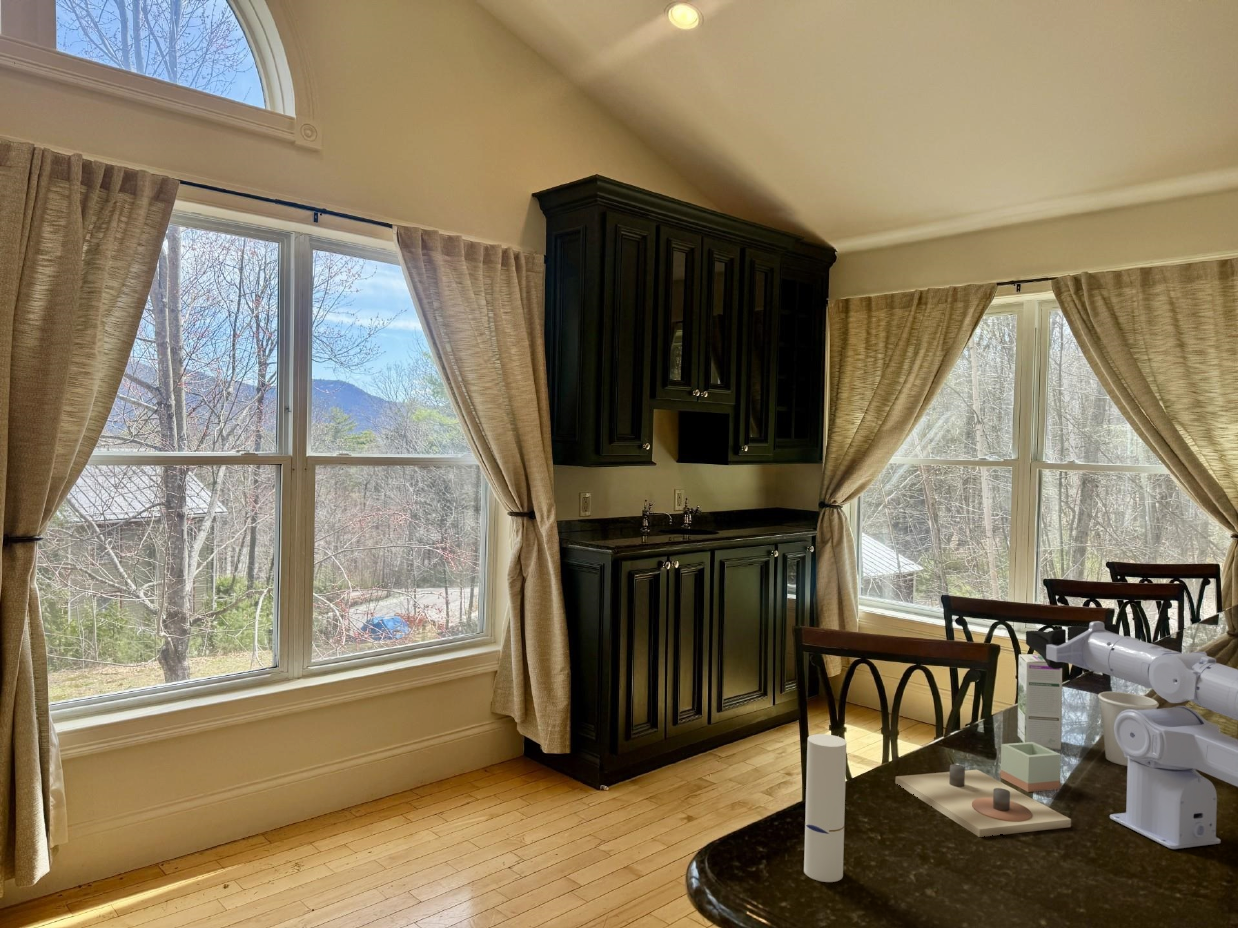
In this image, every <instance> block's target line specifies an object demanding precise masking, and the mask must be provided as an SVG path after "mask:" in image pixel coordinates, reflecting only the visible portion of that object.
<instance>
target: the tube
mask: <svg viewBox="0 0 1238 928" xmlns="http://www.w3.org/2000/svg"><path fill="white" fill-rule="evenodd" d="M806 746H807V750H806V777H805V778H806V782H805V783H806V786H805V788H806V789H805V816H804V817H805V821H804V851H803V852H804V856H803V857H804V860H803V873H804V874H805V875H806V876H807V877H809V878H810V879H812V880H814V881H815V880H816V881H818V882H825V883H833V882H834V883H835V882H838V881H840V880H842V879H843V877H844V844H845V814H846V813H845V812H846V811H845V810H846V809H845V807H846V805H845V804H846V801H845V800H846V779H847V778H846V775H847V773H846V772H847V771H846V769H847V767H846V766H847V740H846V739H844V738H843V737H840V736H837V735H832V734H826V733H816V734H812V735H811V734H810V735H809V736H808V737H807V745H806Z"/></svg>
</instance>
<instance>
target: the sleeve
mask: <svg viewBox="0 0 1238 928" xmlns="http://www.w3.org/2000/svg"><path fill="white" fill-rule="evenodd" d="M1000 750H1001V751H1000V753H1001V754H1000V778H1001V779H1002V780H1004V781H1007V782H1008V783H1010V784H1012V785H1014V786H1016V787H1018V788H1019V789H1022V790H1024V791H1026V793H1027V792H1028V793H1030V792H1039V791H1040V792H1041V791H1052V790H1060V789H1061V772H1062V771H1061V767H1062V766H1061V764H1062V763H1061V762H1062V758H1061V757H1062V754H1060V753H1059V752H1056V751H1054V750H1053V749H1048V748H1045V747H1043V746H1041V745H1039V744H1036V743H1034V742H1024V743H1023V742H1015V743H1001V749H1000Z"/></svg>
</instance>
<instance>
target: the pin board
mask: <svg viewBox="0 0 1238 928" xmlns="http://www.w3.org/2000/svg"><path fill="white" fill-rule="evenodd" d="M894 782H895V784H896V785H897V784H898V785H897V786H899V785H900V786H901V787H900V786H899V787H900V788H902V789H903V788H904V790H906V791H907V792H908V793H909V794H912V795H913V794H914V795H913V796H915V797H916V798H917V797H918V798H917V799H919V800H921V801H922V802H924V803H925V804H927V805H928V806H930V807H931V806H932V808H933V809H935V810H936V811H938V812H939V813H941V814H943V815H944V816H946V817H948V819H950V820H952V821H953V822H955V823H956V824H958V825H959V826H961V827H963V828H965V829H966V830H968V831H969V832H970V833H973V835H975V836H977V837H978V838H982V837H984V836H985V837H990V836H991V837H993V836H1000V834H1003V835H1011V834H1019V833H1020V834H1021V833H1028V832H1037V831H1046V830H1057V829H1064V828H1071V827H1072V819H1071V818H1070V817H1068V816H1065V815H1063V814H1062V813H1060V812H1058V811H1057V810H1054V809H1052V808H1050V807H1049V806H1047V805H1046V804H1043V803H1042V802H1039V801H1038V800H1035V799H1033V798H1031V797H1029V796H1028V795H1026V794H1024V793H1023V792H1020V791H1019V790H1016V789H1015V788H1013V787H1011V786H1010V785H1008V784H1006V783H1003V782H1002V781H1000V780H998V779H996V778H994V777H992V776H991V775H988V774H987V773H984V772H983V771H981V770H979V769H969V770H966V767H965V766H963V765H961V764H956V763H955V764H954V763H953V764H950V765H949V771H945V772H936V773H935V772H931V773H922V774H910V775H898V776H895V781H894ZM992 835H993V836H992ZM985 837H984V838H985Z"/></svg>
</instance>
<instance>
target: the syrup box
mask: <svg viewBox="0 0 1238 928" xmlns="http://www.w3.org/2000/svg"><path fill="white" fill-rule="evenodd" d="M1017 670H1018V674H1017V675H1018V678H1017V679H1018V680H1017V683H1018V685H1017V686H1018V687H1017V688H1018V689H1017V732H1016V733H1017V737H1018V739H1020V741H1021V743H1024V742H1034V743H1036V744H1039V745H1041V746H1043V747H1045V748H1048V749H1050V750H1061V749H1062V735H1063V734H1062V730H1063V729H1062V727H1063V726H1062V725H1063V724H1062V723H1063V722H1062V721H1063V720H1062V719H1063V713H1062V712H1063V711H1062V710H1063V668H1060V669H1053V668H1050V667H1049V666H1048V665H1047V663H1046V661H1045V660H1044V658H1043V657H1042V656H1041V655H1040V654H1038V653H1035V654H1033V653H1032V654H1029V653H1027V654H1026V653H1025V654H1020V653H1019V654H1018V669H1017Z"/></svg>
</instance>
